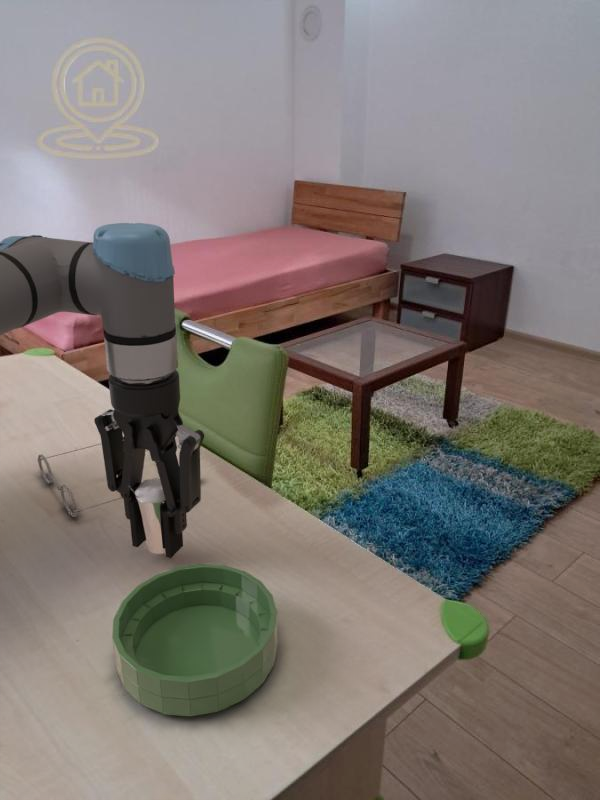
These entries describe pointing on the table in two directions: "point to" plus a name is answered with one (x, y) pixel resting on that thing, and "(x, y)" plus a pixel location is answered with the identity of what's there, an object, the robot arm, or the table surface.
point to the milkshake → (152, 513)
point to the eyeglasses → (77, 511)
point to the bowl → (195, 639)
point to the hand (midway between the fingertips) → (157, 545)
